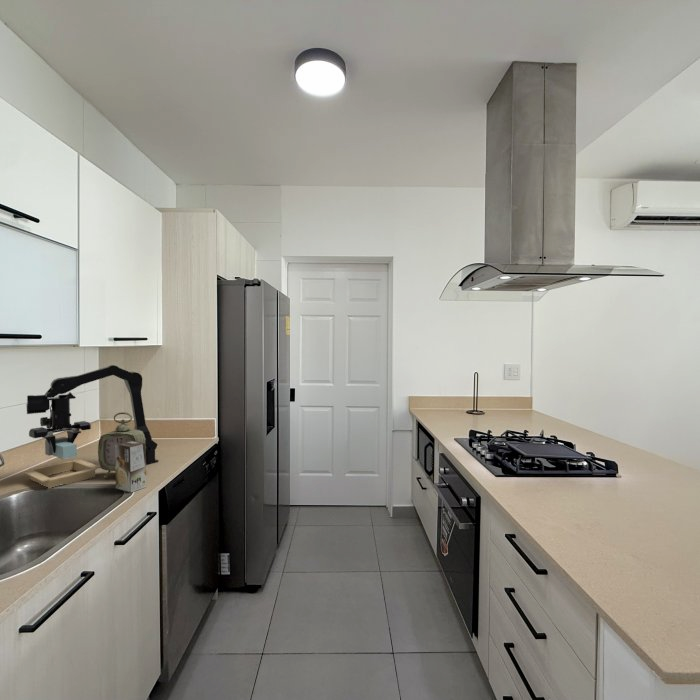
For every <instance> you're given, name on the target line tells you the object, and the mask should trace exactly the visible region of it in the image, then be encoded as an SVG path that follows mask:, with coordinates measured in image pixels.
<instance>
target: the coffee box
mask: <svg viewBox="0 0 700 700" xmlns="http://www.w3.org/2000/svg"><path fill="white" fill-rule="evenodd" d="M115 467H116V469H115V470H116V471H115V489H117V490H121V491H124V492H128V493H133V492H136V491H140V490H142V489H145V488H147V464H146V443H142V442H136V441H126V442H121V443H118V444H115Z"/></svg>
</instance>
